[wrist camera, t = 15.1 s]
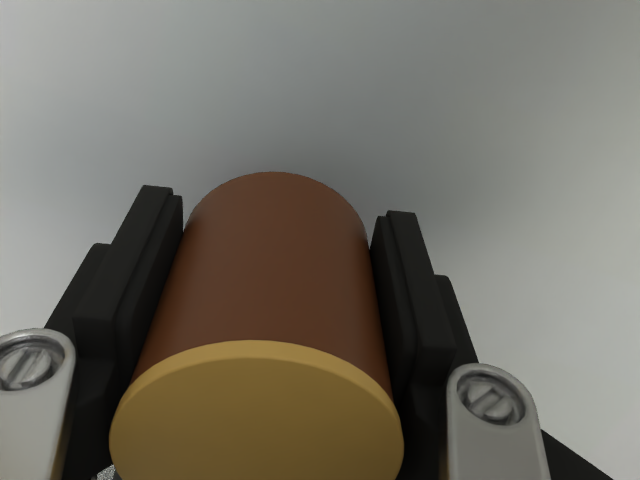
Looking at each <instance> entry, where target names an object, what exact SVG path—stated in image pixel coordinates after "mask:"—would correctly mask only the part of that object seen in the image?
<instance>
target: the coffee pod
mask: <svg viewBox="0 0 640 480" xmlns="http://www.w3.org/2000/svg"><path fill="white" fill-rule="evenodd" d="M109 451H110V455H111V459H112V462H113V464H114V466H115V468H116V471H117V473H118V474H119V476H120V477H121V478H122V480H395V479H396V477H397V475H398V473H399V470H400V468H401V465H402V461H403V457H404V440H403V434H402V428H401V422H400V417H399V415H398V413H397V410H396V408H395V405H394V400H393V394H392V388H391V381H390V375H389V369H388V363H387V356H386V350H385V344H384V338H383V332H382V325H381V319H380V313H379V307H378V300H377V294H376V288H375V282H374V276H373V269H372V263H371V257H370V251H369V245H368V239H367V234H366V231H365V228H364V225H363V223H362V221H361V219H360V217H359V216H358V214H357V213H356V211H355V210H354V209H353V207H352V206H351V205H350V204H349V203H348V202H347V201H346V200H345V199H344V198H343V197H342V196H341V195H339V194H338V193H337V192H336V191H334V190H333V189H331V188H329V187H328V186H326V185H324V184H323V183H321V182H318V181H316V180H314V179H311V178H308V177H305V176H301V175H298V174H292V173H286V172H259V173H253V174H248V175H244V176H241V177H238V178H235V179H232V180H230V181H228V182H226V183H224V184H221V185H220V186H218V187H217V188H215V189H214V190H212V191H211V192H210V193H208V194H207V195H206V196H205V197H204V198H203V199H202V200H201V201H200V202H199V203H198V205H197V206H196V207H195V208H194V210H193V212H192V213H191V215H190V216H189V219H188V221H187V224H186V226H185V229H184V232H183V235H182V237H181V240H180V243H179V246H178V249H177V251H176V254H175V257H174V260H173V263H172V266H171V268H170V271H169V274H168V277H167V280H166V282H165V285H164V288H163V291H162V294H161V296H160V299H159V302H158V305H157V308H156V311H155V313H154V316H153V319H152V322H151V325H150V327H149V330H148V333H147V336H146V339H145V341H144V344H143V347H142V350H141V353H140V356H139V358H138V361H137V364H136V367H135V370H134V372H133V375H132V378H131V381H130V384H129V387H128V389H127V390H126V392H125V393H124V395H123V396H122V398H121V400H120V402H119V404H118V407H117V409H116V412H115V414H114V417H113V420H112V423H111V427H110V432H109Z"/></svg>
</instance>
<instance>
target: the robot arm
mask: <svg viewBox="0 0 640 480" xmlns="http://www.w3.org/2000/svg"><path fill="white" fill-rule="evenodd" d="M182 235H183V202H182V196H179V195H173V190H172V188H169V187H159V186H149V185H143V186H142V188H141V190H140V192H139V193H138V195H137V197H136V199H135V201H134V203H133V205H132V206H131V208H130V210H129V212H128V214H127V216H126V217H125V219H124V221H123V223H122V225H121V227H120V229H119V230H118V232H117V234H116V236H115V238H114V240H113V241H112V243H111V244H102V243H96V244H94V245H93V246H92V247H91V249H90V250H89V252H88V254H87V255H86V257H85V259H84V260H83V262H82V264H81V265H80V267H79V269H78V270H77V272H76V274H75V276H74V277H73V279H72V281H71V282H70V284H69V286H68V287H67V289H66V291H65V293H64V294H63V296H62V298H61V299H60V301H59V303H58V304H57V306H56V308H55V309H54V311H53V313H52V315H51V316H50V318H49V320H48V321H47V323H46V325H45V326H44V328H43V329H40V328H32V329H25V330H18V331H15V332H12V333H9V334H6V335H3V336H1V337H0V480H97V474H98V473H99V472H101V471H103V470H104V469H106V468H107V467H109V466H110V465H112V464H113V462H112V459H111V455H110V451H109V432H110V427H111V423H112V420H113V417H114V414H115V412H116V409H117V407H118V404H119V402H120V400H121V398H122V396H123V395H124V393H125V392H126V390H127V389H128V387H129V384H130V381H131V378H132V375H133V372H134V370H135V367H136V364H137V361H138V358H139V356H140V353H141V350H142V347H143V344H144V341H145V339H146V336H147V333H148V330H149V327H150V325H151V322H152V319H153V316H154V313H155V311H156V308H157V305H158V302H159V299H160V296H161V294H162V291H163V288H164V285H165V282H166V280H167V277H168V274H169V271H170V268H171V266H172V263H173V260H174V257H175V254H176V251H177V249H178V246H179V243H180V240H181V237H182ZM369 251H370V257H371V263H372V269H373V276H374V282H375V288H376V294H377V300H378V307H379V313H380V319H381V325H382V332H383V338H384V344H385V350H386V356H387V363H388V369H389V375H390V381H391V388H392V394H393V400H394V405H395V408H396V410H397V413H398V415H399V417H400V422H401V428H402V434H403V440H404V457H403V461H402V465H401V468H400V470H399V473H398V475H397V477H396V479H395V480H613V479H612V478H611V477H609V476H608V475H606V474H605V473H603V472H602V471H601V470H599V469H598V468H596V467H595V466H593V465H592V464H591V463H589V462H588V461H586V460H585V459H583V458H582V457H581V456H579V455H578V454H576V453H575V452H573V451H572V450H571V449H569V448H568V447H566V446H565V445H563V444H562V443H560V442H559V441H558V440H556V439H555V438H553V437H552V436H550V435H549V434H548V433H546V432H545V431H543V430H542V429H540V424H539V419H538V414H537V409H536V405H535V403H534V400H533V398H532V395H531V394H530V392H529V391H528V390H527V389H526V387H525V386H524V385H523V384H522V383H521V382H520V381H519V380H518V379H516V378H515V377H514V376H513V375H511V374H509V373H507V372H506V371H504V370H502V369H500V368H497V367H494V366H491V365H488V364H480V363H479V362H478V359H477V356H476V353H475V350H474V347H473V344H472V341H471V339H470V336H469V333H468V330H467V327H466V324H465V321H464V318H463V316H462V313H461V310H460V307H459V304H458V301H457V298H456V295H455V293H454V290H453V287H452V284H451V281H450V280H449V278H448V277H447V276H444V275H434V272H433V268H432V265H431V262H430V259H429V256H428V253H427V249H426V246H425V243H424V240H423V237H422V233H421V230H420V227H419V224H418V221H417V217H416V215H415V213H411V212H401V211H392V210H388V212H387V214H386V217H385V216H378V217H377V219H376V223H375V228H374V232H373V237H372V241H371V246H370V250H369Z"/></svg>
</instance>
